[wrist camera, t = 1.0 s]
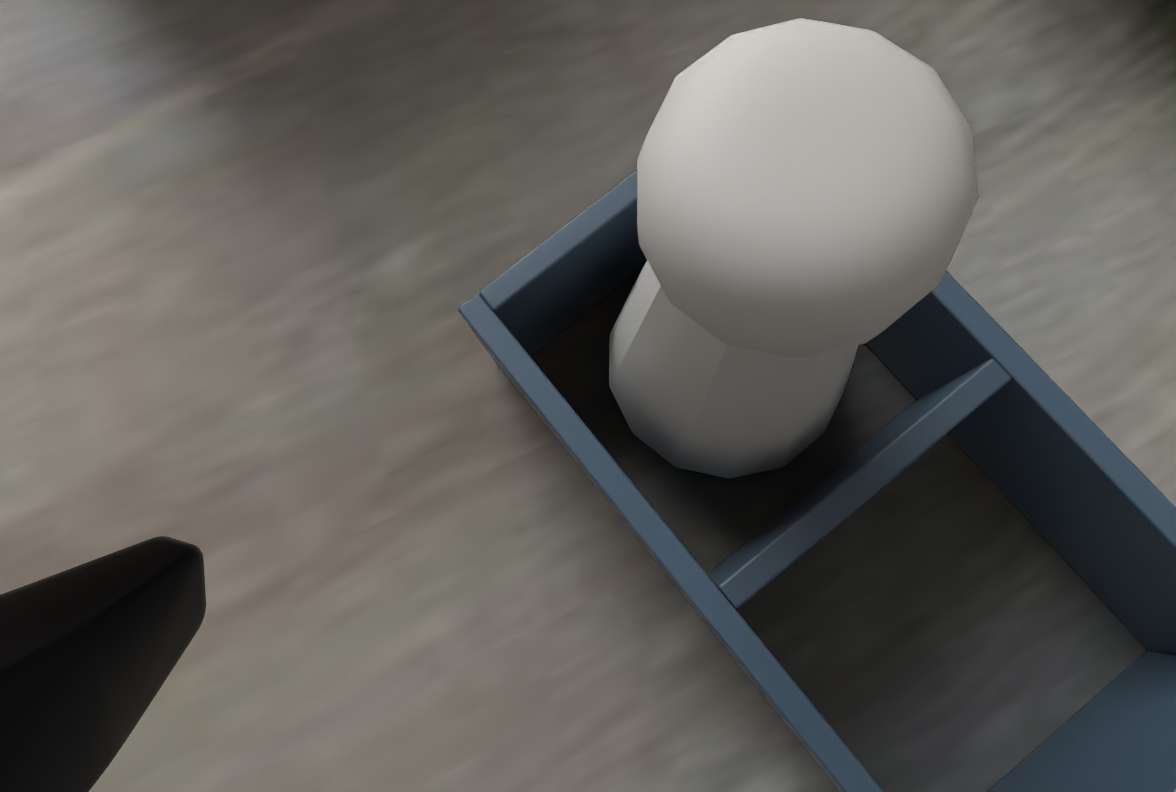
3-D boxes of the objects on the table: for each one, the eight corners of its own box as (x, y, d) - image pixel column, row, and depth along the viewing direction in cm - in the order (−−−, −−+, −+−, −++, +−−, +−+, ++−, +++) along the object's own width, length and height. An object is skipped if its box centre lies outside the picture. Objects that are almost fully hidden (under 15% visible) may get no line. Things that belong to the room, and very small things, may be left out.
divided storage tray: (917, 889, 20) (1006, 994, 15) (493, 359, 23) (455, 307, 18) (1181, 653, 20) (1346, 681, 16) (733, 171, 23) (757, 74, 19)
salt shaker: (792, 260, 23) (988, -118, 10) (850, 458, 22) (1154, 313, 9) (589, 307, 23) (529, -8, 10) (636, 507, 22) (634, 433, 9)
